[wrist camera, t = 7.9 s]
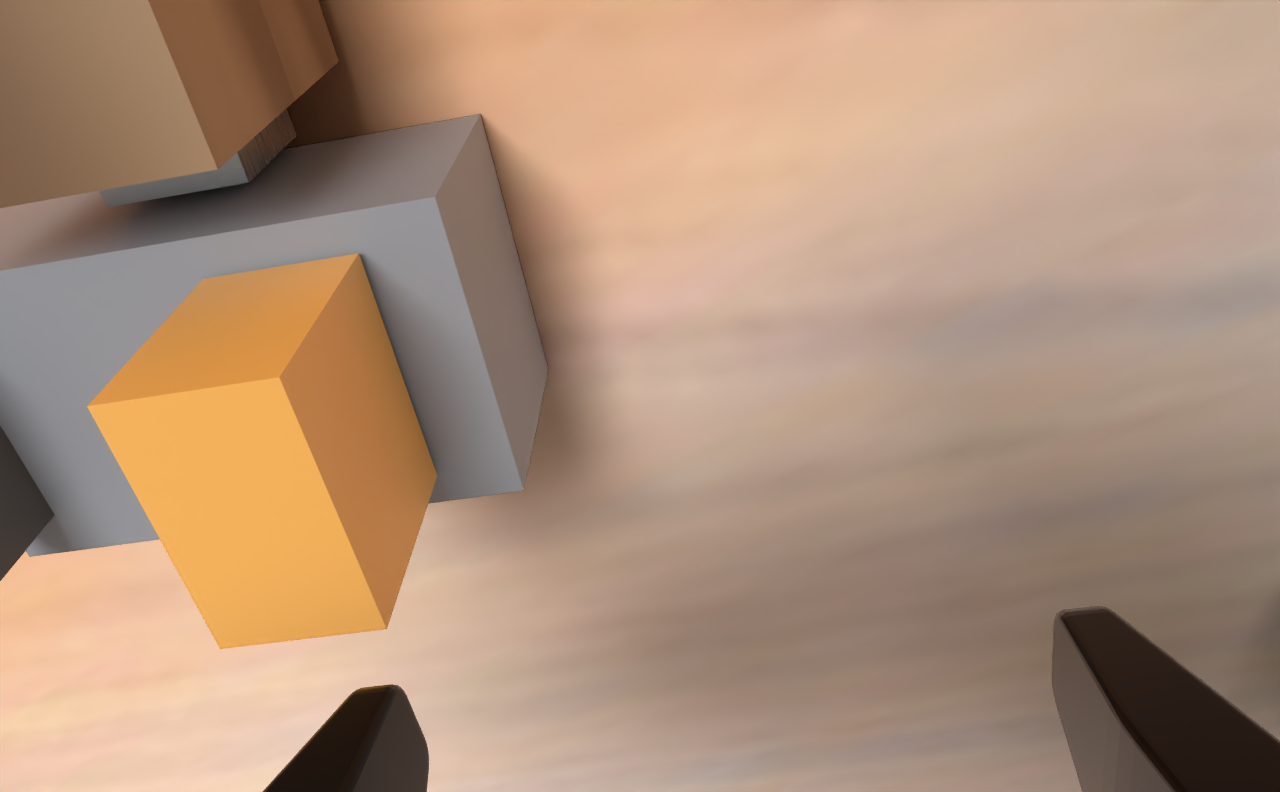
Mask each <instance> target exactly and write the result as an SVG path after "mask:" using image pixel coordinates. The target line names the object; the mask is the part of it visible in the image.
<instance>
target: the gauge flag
mask: <svg viewBox="0 0 1280 792" xmlns="http://www.w3.org/2000/svg"><path fill="white" fill-rule="evenodd" d="M87 407H88V409H89V411H90V413H91V415H92V417H93V418H94V420H95V422H96V424H97V426H98V427H99V429H100V431H101V433H102V435H103V437H104V438H105V440H106V442H107V444H108V446H109V447H110V449H111V451H112V453H113V455H114V457H115V458H116V460H117V462H118V464H119V466H120V467H121V469H122V471H123V473H124V475H125V477H126V478H127V480H128V482H129V484H130V486H131V487H132V489H133V491H134V493H135V495H136V497H137V498H138V500H139V502H140V504H141V506H142V507H143V509H144V511H145V513H146V515H147V517H148V518H149V520H150V522H151V524H152V526H153V528H154V529H155V531H156V533H157V535H158V537H159V538H160V540H161V542H162V544H163V546H164V548H165V549H166V551H167V553H168V555H169V557H170V558H171V560H172V562H173V564H174V566H175V568H176V569H177V571H178V573H179V575H180V577H181V578H182V580H183V582H184V584H185V586H186V588H187V589H188V591H189V593H190V595H191V597H192V598H193V600H194V602H195V604H196V606H197V608H198V609H199V611H200V613H201V615H202V617H203V619H204V620H205V622H206V624H207V626H208V628H209V629H210V631H211V633H212V635H213V637H214V639H215V640H216V642H217V644H218V646H219V648H220V649H224V648H233V647H241V646H249V645H258V644H266V643H274V642H283V641H291V640H300V639H308V638H316V637H325V636H333V635H342V634H350V633H358V632H367V631H375V630H383V629H387V627H388V624H389V621H390V618H391V614H392V611H393V608H394V605H395V602H396V599H397V596H398V593H399V590H400V587H401V584H402V581H403V578H404V575H405V572H406V569H407V566H408V563H409V560H410V557H411V554H412V551H413V548H414V545H415V542H416V539H417V536H418V533H419V530H420V527H421V524H422V521H423V518H424V515H425V512H426V508H427V505H428V502H429V499H430V496H431V493H432V490H433V487H434V484H435V481H436V478H437V473H436V470H435V468H434V465H433V462H432V459H431V456H430V453H429V451H428V448H427V445H426V442H425V439H424V436H423V434H422V431H421V428H420V425H419V422H418V419H417V417H416V414H415V411H414V408H413V405H412V403H411V400H410V397H409V394H408V391H407V388H406V386H405V383H404V380H403V377H402V374H401V371H400V369H399V366H398V363H397V360H396V357H395V354H394V352H393V349H392V346H391V343H390V340H389V337H388V335H387V332H386V329H385V326H384V323H383V321H382V318H381V315H380V312H379V309H378V306H377V304H376V301H375V298H374V295H373V292H372V289H371V287H370V284H369V281H368V278H367V275H366V272H365V270H364V267H363V264H362V261H361V258H360V256H359V253H358V254H352V255H345V256H339V257H333V258H327V259H321V260H315V261H309V262H303V263H297V264H291V265H285V266H279V267H273V268H267V269H261V270H255V271H249V272H242V273H236V274H230V275H224V276H218V277H212V278H206V279H203V280H202V281H201V282H200V283H199V284H198V285H197V286H196V287H195V288H194V290H193V291H192V292H191V293H190V294H189V295H188V296H187V297H186V298H185V299H184V301H183V302H182V303H181V304H180V305H179V306H178V307H177V308H176V309H175V310H174V311H173V313H172V314H171V315H170V316H169V317H168V318H167V319H166V320H165V321H164V322H163V324H162V325H161V326H160V327H159V328H158V329H157V330H156V331H155V332H154V333H153V335H152V336H151V337H150V338H149V339H148V340H147V341H146V342H145V343H144V344H143V345H142V347H141V348H140V349H139V350H138V351H137V352H136V353H135V354H134V355H133V356H132V358H131V359H130V360H129V361H128V362H127V363H126V364H125V365H124V366H123V367H122V368H121V370H120V371H119V372H118V373H117V374H116V375H115V376H114V377H113V378H112V379H111V381H110V382H109V383H108V384H107V385H106V386H105V387H104V388H103V389H102V390H101V392H100V393H99V394H98V395H97V396H96V397H95V398H94V399H93V400H92V401H91V402H90V404H89V405H88V406H87Z"/></svg>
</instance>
